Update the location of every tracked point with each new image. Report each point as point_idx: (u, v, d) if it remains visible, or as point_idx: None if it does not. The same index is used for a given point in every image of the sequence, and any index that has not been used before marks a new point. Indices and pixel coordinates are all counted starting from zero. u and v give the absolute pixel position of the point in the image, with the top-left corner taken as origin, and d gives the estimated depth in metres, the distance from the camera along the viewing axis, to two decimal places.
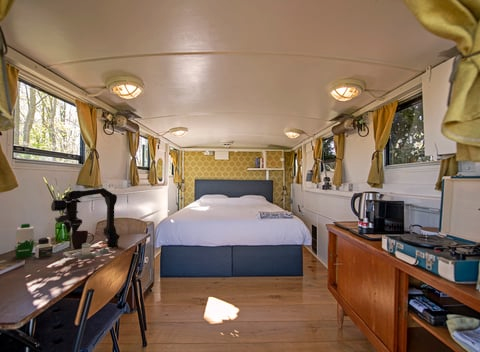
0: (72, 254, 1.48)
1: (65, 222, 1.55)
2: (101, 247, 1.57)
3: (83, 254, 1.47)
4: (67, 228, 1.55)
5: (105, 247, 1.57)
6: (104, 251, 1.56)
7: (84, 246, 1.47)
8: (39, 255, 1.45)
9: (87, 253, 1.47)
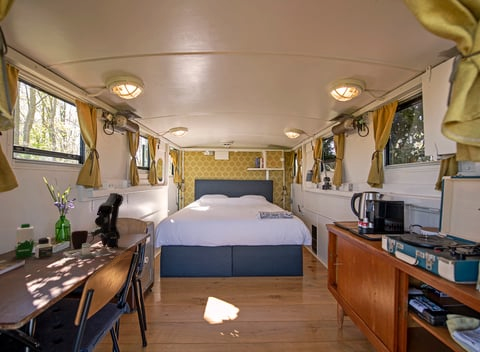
0: (72, 254, 1.48)
1: (101, 236, 1.58)
2: (101, 248, 1.57)
3: (83, 254, 1.47)
4: None
5: (105, 248, 1.57)
6: (104, 251, 1.56)
7: (84, 246, 1.47)
8: (39, 255, 1.45)
9: (87, 253, 1.47)
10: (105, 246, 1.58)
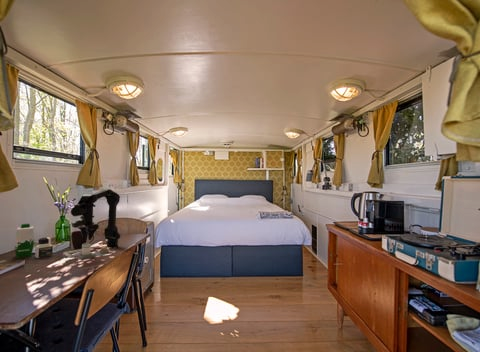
0: (72, 254, 1.48)
1: (81, 227, 1.51)
2: (101, 249, 1.57)
3: (83, 254, 1.47)
4: (83, 233, 1.52)
5: (105, 249, 1.57)
6: (104, 251, 1.56)
7: (84, 246, 1.47)
8: (39, 255, 1.45)
9: (87, 253, 1.47)
10: (105, 247, 1.58)
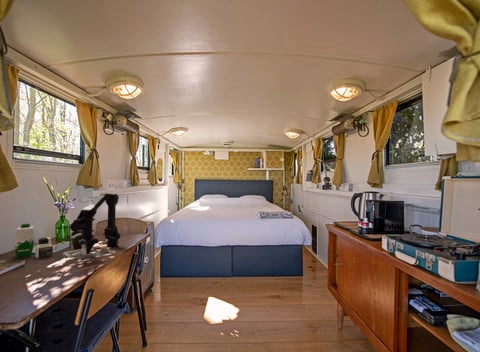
0: (72, 254, 1.48)
1: (81, 241, 1.50)
2: (101, 249, 1.57)
3: (83, 254, 1.47)
4: None
5: (105, 249, 1.57)
6: (104, 251, 1.56)
7: (84, 246, 1.47)
8: (39, 255, 1.45)
9: None
10: (105, 247, 1.58)
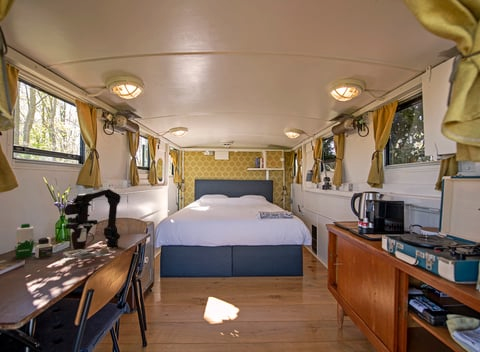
0: (72, 254, 1.48)
1: (84, 225, 1.55)
2: (101, 249, 1.57)
3: None
4: None
5: (105, 249, 1.57)
6: (104, 251, 1.56)
7: None
8: (39, 255, 1.45)
9: None
10: (105, 247, 1.58)
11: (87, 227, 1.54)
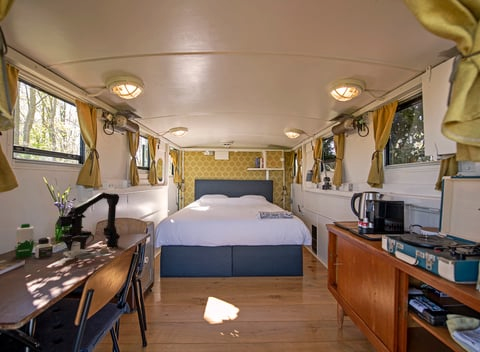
0: (72, 254, 1.48)
1: (81, 236, 1.59)
2: (101, 249, 1.57)
3: None
4: (81, 243, 1.58)
5: (105, 249, 1.57)
6: (104, 251, 1.56)
7: None
8: (39, 255, 1.45)
9: (72, 252, 1.51)
10: (105, 247, 1.58)
11: (83, 238, 1.58)
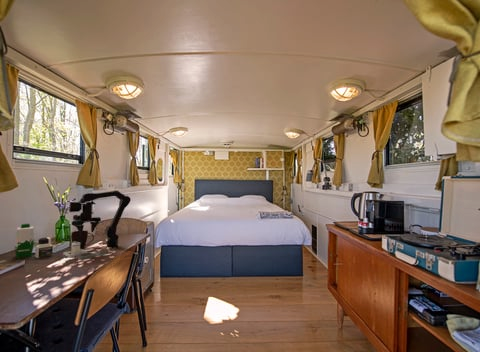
0: (72, 254, 1.48)
1: (91, 222, 1.70)
2: (101, 249, 1.57)
3: None
4: (91, 227, 1.69)
5: (105, 249, 1.57)
6: (104, 251, 1.56)
7: None
8: (39, 255, 1.45)
9: (72, 252, 1.51)
10: (105, 247, 1.58)
11: (94, 223, 1.69)
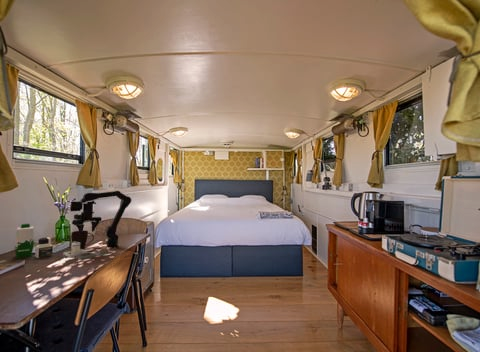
0: (72, 254, 1.48)
1: (92, 221, 1.71)
2: (101, 249, 1.57)
3: None
4: (92, 227, 1.70)
5: (105, 249, 1.57)
6: (104, 251, 1.56)
7: None
8: (39, 255, 1.45)
9: (72, 252, 1.51)
10: (105, 247, 1.58)
11: (94, 223, 1.70)
